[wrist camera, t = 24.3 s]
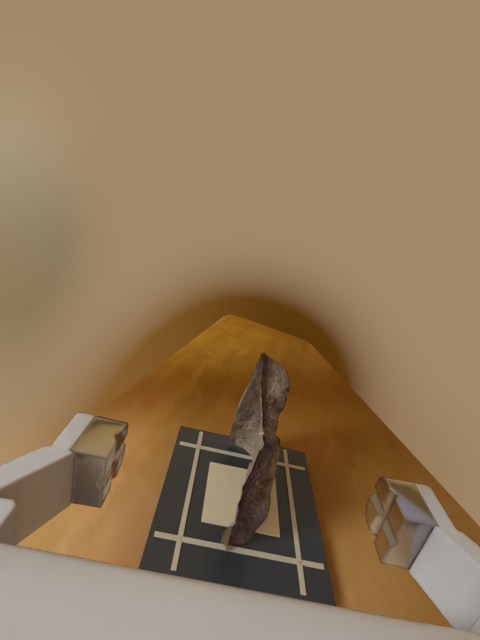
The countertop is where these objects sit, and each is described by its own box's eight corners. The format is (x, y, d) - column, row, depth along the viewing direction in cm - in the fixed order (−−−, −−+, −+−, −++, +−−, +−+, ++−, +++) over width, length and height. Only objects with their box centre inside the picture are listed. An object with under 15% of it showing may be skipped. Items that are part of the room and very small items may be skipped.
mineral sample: (227, 440, 49) (255, 342, 43) (255, 446, 49) (287, 350, 43) (214, 561, 33) (256, 430, 28) (256, 570, 33) (305, 442, 28)
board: (136, 581, 31) (138, 568, 31) (179, 434, 50) (181, 424, 49) (330, 617, 32) (336, 606, 32) (301, 460, 51) (304, 451, 50)
